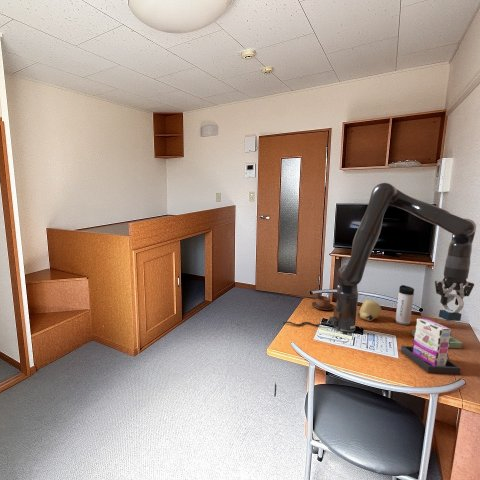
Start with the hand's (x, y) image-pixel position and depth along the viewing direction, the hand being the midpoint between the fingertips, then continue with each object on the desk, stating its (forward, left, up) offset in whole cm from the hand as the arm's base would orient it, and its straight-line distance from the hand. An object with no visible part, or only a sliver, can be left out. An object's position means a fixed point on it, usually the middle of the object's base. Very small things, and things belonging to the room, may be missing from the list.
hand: (450, 304), depth 135 cm
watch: (0, 0, -7) cm, 7 cm away
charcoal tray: (-12, -8, -22) cm, 27 cm away
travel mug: (+2, +32, -23) cm, 39 cm away
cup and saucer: (-32, +50, -23) cm, 63 cm away
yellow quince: (-13, +36, -23) cm, 44 cm away
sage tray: (+4, +11, -22) cm, 25 cm away
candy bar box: (-12, -8, -22) cm, 26 cm away
